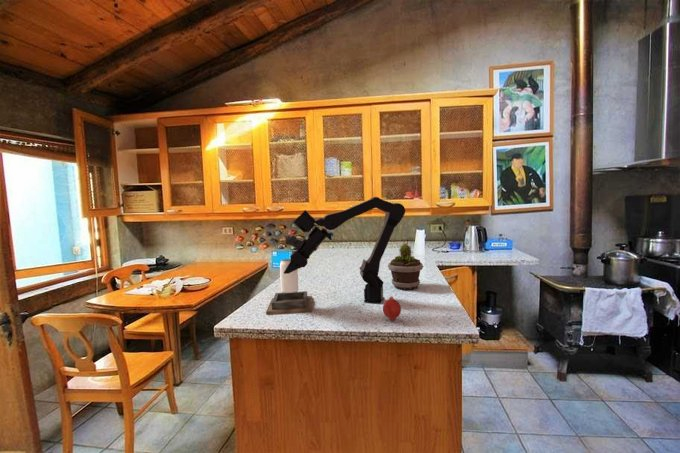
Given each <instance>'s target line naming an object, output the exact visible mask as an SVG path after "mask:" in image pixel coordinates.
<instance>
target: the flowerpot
mask: <svg viewBox="0 0 680 453" xmlns="http://www.w3.org/2000/svg"><path fill="white" fill-rule="evenodd" d="M412 249H413V248H412V246H410V245H409V244H408V242H402V243H401V245H400V246H399V250H398V251H399V254H396V255H395V256H394V258H393V259H391V261H390V262H388V265H387V268H388V270H389V271H390V272H391V276H392V279H391V283H392V285H393V286H394V288H395V289H398V290H402V291H403V290H405V291H409V290H411V289H412V290H415V289H417V288H418V286H420V283H421V280H420V274H421V271H422V270H423V268H424V265H423V263H422V262H421V260H420V259H417V258H416V257H415V256H414V255H412V253H413V250H412Z"/></svg>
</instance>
